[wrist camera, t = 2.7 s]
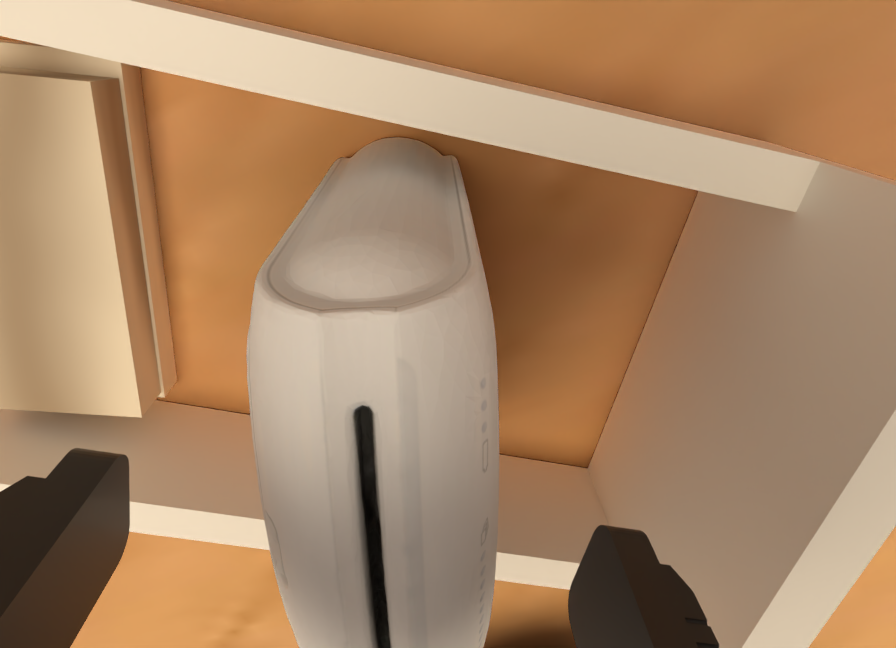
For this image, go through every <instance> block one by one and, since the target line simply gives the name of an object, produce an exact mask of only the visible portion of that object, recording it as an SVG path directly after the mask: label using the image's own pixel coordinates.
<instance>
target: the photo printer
mask: <svg viewBox="0 0 896 648" xmlns="http://www.w3.org/2000/svg"><path fill="white" fill-rule="evenodd" d="M246 357H247V381H248V392H249V404H250V418H251V426H252V439H253V447H254V454H255V462H256V470H257V477H258V485H259V492H260V498H261V503H262V509H263V515H264V521H265V527H266V532H267V537H268V543H269V548H270V554H271V558H272V562H273V566H274V571H275V575H276V579H277V584H278V586H279V591H280V594H281V597H282V601H283V604H284V608H285V611H286V614H287V617H288V620H289V622H290V625H291V627H292V629H293V632H294V635H295V638H296V641H297V643H298V645H299V648H483V647H484V643H485V640H486V636H487V632H488V628H489V622H490V616H491V609H492V601H493V593H494V582H495V571H496V554H497V536H498V508H499V405H498V369H497V349H496V337H495V327H494V320H493V312H492V307H491V302H490V297H489V292H488V287H487V282H486V277H485V272H484V268H483V264H482V259H481V255H480V251H479V246H478V242H477V237H476V233H475V229H474V224H473V220H472V215H471V211H470V206H469V202H468V198H467V194H466V190H465V186H464V182H463V178H462V174H461V171H460V167H459V164H458V160H457V159H456V158H455V157H454V156H453V155H448V156H442V155H441V154H440V153H439V152H438V151H437V150H435V149H434V148H432V147H431V146H429V145H427V144H425V143H423V142H420V141H418V140H414V139H409V138H401V137H393V138H384V139H380V140H377V141H374V142H372V143H370V144H368V145H366V146H364V147H363V148H362V149H360V150H359V151H358V152H357V153H356V154H354V155H353V156H352V157H350V158H344V157H341V158H339V159H337V160H336V161H335V162H334V164H333V165H332V166H331V168H330V169H329V170H328V172H327V174H326V175H325V177H324V178H323V180H322V182H321V183H320V184H319V186H318V187H317V188H316V190H315V191H314V193H313V194H312V196H311V197H310V199H309V200H308V201H307V203H306V204H305V206H304V207H303V209H302V210H301V211H300V213H299V214H298V216H297V217H296V218H295V220H294V221H293V222H292V224H291V225H290V227H289V228H288V229H287V231H286V232H285V233H284V235H283V236H282V238H281V239H280V241H279V242H278V244H277V245H276V247H275V248H274V249H273V251H272V252H271V254H270V255H269V256H268V258H267V259H266V260H265V262H264V263H263V265H262V266H261V268H260V270H259V272H258V274H257V277H256V281H255V287H254V294H253V301H252V308H251V320H250V327H249V331H248V337H247V356H246Z"/></svg>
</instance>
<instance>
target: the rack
mask: <svg viewBox="0 0 896 648" xmlns="http://www.w3.org/2000/svg"><path fill="white" fill-rule="evenodd" d="M0 36H3V37H8V38H12V39H17V40H21V41H26V42H30V43H35V44H39V45H44V46H48V47H53V48H57V49H62V50H66V51H71V52H75V53H80V54H84V55H89V56H93V57H98V58H102V59H107V60H111V61H116V62H120V63H125V64H129V65H134V66H138V67H143V68H147V69H152V70H157V71H161V72H166V73H170V74H175V75H179V76H184V77H188V78H193V79H197V80H202V81H206V82H211V83H215V84H220V85H224V86H229V87H233V88H238V89H242V90H247V91H251V92H256V93H260V94H265V95H269V96H274V97H278V98H283V99H287V100H292V101H296V102H301V103H305V104H310V105H314V106H319V107H323V108H328V109H332V110H337V111H342V112H346V113H351V114H355V115H360V116H364V117H369V118H373V119H378V120H382V121H387V122H391V123H396V124H400V125H405V126H409V127H414V128H418V129H423V130H427V131H432V132H436V133H441V134H445V135H450V136H454V137H459V138H463V139H468V140H472V141H477V142H481V143H486V144H490V145H495V146H499V147H504V148H508V149H513V150H517V151H522V152H526V153H531V154H536V155H540V156H545V157H549V158H554V159H558V160H563V161H567V162H572V163H576V164H581V165H585V166H590V167H594V168H599V169H603V170H608V171H612V172H617V173H621V174H626V175H630V176H635V177H639V178H644V179H648V180H653V181H657V182H662V183H666V184H671V185H675V186H680V187H684V188H689V189H693V190H698V194H697V196H696V199H695V201H694V204H693V206H692V209H691V211H690V214H689V216H688V219H687V221H686V224H685V226H684V229H683V231H682V234H681V236H680V239H679V241H678V244H677V246H676V249H675V251H674V254H673V256H672V259H671V261H670V264H669V266H668V269H667V271H666V274H665V276H664V279H663V281H662V284H661V286H660V289H659V291H658V294H657V296H656V299H655V301H654V304H653V306H652V309H651V311H650V314H649V316H648V319H647V321H646V324H645V326H644V329H643V331H642V334H641V336H640V339H639V341H638V344H637V346H636V349H635V351H634V354H633V356H632V359H631V361H630V364H629V366H628V369H627V371H626V374H625V376H624V379H623V381H622V384H621V386H620V389H619V391H618V394H617V396H616V399H615V401H614V404H613V406H612V409H611V411H610V414H609V416H608V419H607V421H606V424H605V426H604V429H603V431H602V434H601V436H600V439H599V441H598V444H597V446H596V449H595V451H594V454H593V456H592V459H591V461H590V464H589V466H588V468H582V467H576V466H570V465H563V464H557V463H551V462H544V461H538V460H532V459H525V458H519V457H513V456H506V455H500V454H499V508H498V536H497V554H496V571H495V580H500V581H507V582H515V583H523V584H530V585H538V586H545V587H553V588H560V589H568V590H570V587H571V584H572V581H573V579H574V576H575V574H576V572H577V569H578V567H579V565H580V562H581V560H582V558H583V556H584V553H585V551H586V549H587V546H588V544H589V542H590V539H591V537H592V535H593V533H594V531H595V529H596V528H597V527H598V526H599V525H607V526H614V527H621V528H628V529H635V530H641V531H643V532H644V533H645V534H646V535H647V537H648V539H649V541H650V543H651V545H652V547H653V549H654V552H655V554H656V556H657V558H658V560H659V563H660V564H665V565H670V566H671V567H672V568H673V569H674V570H675V571H676V572H677V574H678V575H679V576H680V577H681V578H682V579H683V580H684V582H685V583H686V584H687V585H688V586H689V587H690V588H691V590H692V591H693V592H694V594H695V596H696V598H697V600H698V602H699V604H700V606H701V608H702V610H703V612H704V614H705V616H706V619H707V625H708V626H710V627H711V629H712V631H713V633H714V635H715V637H716V639H717V641H718V643H719V648H808V647H809V646H810V644H811V643H812V642H813V640H814V639H815V637H816V636H817V635H818V633H819V632H820V631H821V629H822V628H823V626H824V625H825V624H826V622H827V621H828V619H829V618H830V617H831V615H832V614H833V612H834V611H835V610H836V608H837V607H838V605H839V604H840V603H841V601H842V600H843V599H844V597H845V596H846V594H847V593H848V592H849V590H850V589H851V587H852V586H853V585H854V583H855V582H856V580H857V579H858V578H859V576H860V575H861V573H862V572H863V571H864V569H865V568H866V567H867V565H868V564H869V562H870V561H871V560H872V558H873V557H874V555H875V554H876V553H877V551H878V550H879V548H880V547H881V546H882V544H883V543H884V541H885V540H886V539H887V537H888V536H889V535H890V533H891V532H892V530H893V529H894V528H895V526H896V181H895V180H892V179H889V178H885V177H882V176H879V175H875V174H872V173H869V172H866V171H862V170H859V169H856V168H852V167H849V166H846V165H842V164H839V163H836V162H833V161H829V160H826V159H823V158H819V157H816V156H813V155H809V154H806V153H803V152H799V151H796V150H793V149H790V148H786V147H783V146H780V145H776V144H773V143H770V142H766V141H762V140H758V139H754V138H749V137H745V136H741V135H737V134H732V133H728V132H724V131H720V130H715V129H711V128H707V127H703V126H698V125H694V124H690V123H686V122H681V121H677V120H673V119H669V118H664V117H660V116H656V115H652V114H647V113H643V112H639V111H635V110H630V109H626V108H622V107H618V106H613V105H609V104H605V103H601V102H597V101H592V100H588V99H584V98H580V97H575V96H571V95H567V94H563V93H558V92H554V91H550V90H546V89H541V88H537V87H533V86H529V85H524V84H520V83H516V82H512V81H507V80H503V79H499V78H495V77H490V76H486V75H482V74H478V73H473V72H469V71H465V70H461V69H456V68H452V67H448V66H444V65H439V64H435V63H431V62H427V61H423V60H418V59H414V58H410V57H406V56H401V55H397V54H393V53H389V52H384V51H380V50H376V49H372V48H367V47H363V46H359V45H355V44H350V43H346V42H342V41H338V40H333V39H329V38H325V37H321V36H316V35H312V34H308V33H304V32H299V31H295V30H291V29H287V28H282V27H278V26H274V25H270V24H265V23H261V22H257V21H253V20H249V19H244V18H240V17H236V16H232V15H227V14H223V13H219V12H215V11H210V10H206V9H202V8H198V7H193V6H189V5H185V4H181V3H176V2H172V1H168V0H0ZM74 448H82V449H89V450H96V451H103V452H110V453H117V454H124V455H126V456H127V457H128V460H129V490H130V528H129V532H137V533H144V534H152V535H159V536H167V537H175V538H182V539H190V540H197V541H205V542H212V543H220V544H227V545H235V546H243V547H250V548H258V549H265V550H270V548H269V543H268V537H267V532H266V527H265V521H264V515H263V509H262V503H261V498H260V492H259V485H258V477H257V470H256V462H255V454H254V447H253V439H252V426H251V418H250V415H247V414H241V413H235V412H228V411H222V410H216V409H209V408H203V407H197V406H190V405H184V404H178V403H171V402H165V401H159V400H155V401H154V402H153V404H152V405H151V406H150V408H149V409H148V410H147V412H146V413H145V414H144V416H143V417H142V418H140V417H124V416H107V415H91V414H75V413H59V412H43V411H27V410H11V409H0V492H1V491H2V490H4V489H6V488H7V487H9V486H11V485H13V484H14V483H16V482H18V481H19V480H21V479H23V478H24V477H26V476H33V477H40V478H46V477H47V476H48V475H49V474H50V473H51V471H52V470H53V469H54V468H55V467H56V466H57V464H58V463H59V462H60V461H61V460H62V459H63V457H64V456H65V455H66V454H67V453H68V452H69V451H71V450H72V449H74Z"/></svg>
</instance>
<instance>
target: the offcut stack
mask: <svg viewBox="0 0 896 648" xmlns="http://www.w3.org/2000/svg"><path fill="white" fill-rule="evenodd" d="M176 382H177V374H176V366H175V357H174V349H173V340H172V332H171V324H170V315H169V307H168V299H167V290H166V282H165V273H164V265H163V257H162V248H161V240H160V231H159V223H158V215H157V206H156V198H155V190H154V181H153V173H152V164H151V156H150V148H149V139H148V131H147V122H146V114H145V106H144V97H143V89H142V81H141V72H140V67H138V66H134V65H129V64H125V63H120V62H116V61H111V60H107V59H102V58H98V57H93V56H89V55H84V54H80V53H75V52H71V51H66V50H62V49H57V48H53V47H48V46H44V45H39V44H35V43H30V42H21V41H11V40H2V39H0V409H11V410H27V411H43V412H59V413H75V414H91V415H107V416H124V417H140V418H142V417H143V416H144V414H145V413H146V412H147V410H148V409H149V408H150V406H151V405H152V404H153V402H154V401H155V400H156V398H157V397H166V395H167V394H168V392H169V391H170V390H171V388H172V387H173V386H174V384H175V383H176Z"/></svg>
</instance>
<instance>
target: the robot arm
mask: <svg viewBox="0 0 896 648" xmlns="http://www.w3.org/2000/svg"><path fill="white" fill-rule="evenodd" d="M129 528H130V490H129V460H128V457H127V456H126V455H124V454H117V453H110V452H103V451H96V450H89V449H82V448H74V449H72V450H71V451H69V452H68V453H67V454H66V455H65V456H64V457H63V459H62V460H61V461H60V462H59V463H58V464H57V466H56V467H55V468H54V469H53V470H52V471H51V473H50V474H49V475H48V476H47V477H46V478H40V477H33V476H26V477H24V478H23V479H21V480H19V481H18V482H16V483H14V484H13V485H11V486H9V487H7V488H6V489H4V490H2V491H1V492H0V648H70V647H71V645H72V643H73V641H74V640H75V638H76V636H77V634H78V633H79V631H80V629H81V628H82V626H83V624H84V622H85V621H86V619H87V617H88V615H89V614H90V612H91V610H92V609H93V607H94V605H95V603H96V602H97V600H98V598H99V596H100V595H101V593H102V591H103V590H104V588H105V586H106V584H107V583H108V581H109V579H110V578H111V576H112V574H113V572H114V571H115V569H116V567H117V565H118V563H119V561H120V559H121V557H122V554H123V552H124V549H125V546H126V543H127V539H128V534H129ZM568 612H569V620H570V624H571V628H572V632H573V636H574V640H575V644H576V648H719V643H718V641H717V639H716V637H715V635H714V633H713V631H712V629H711V627H710V626H708V625H707V619H706V616H705V614H704V612H703V610H702V608H701V606H700V604H699V602H698V600H697V598H696V596H695V594H694V592H693V591H692V590H691V588H690V587H689V586H688V585H687V584H686V583H685V582H684V580H683V579H682V578H681V577H680V576H679V575H678V574H677V572H676V571H675V570H674V569H673V568H672V567H671V566H670V565H665V564H660V563H659V560H658V558H657V556H656V554H655V552H654V549H653V547H652V545H651V543H650V541H649V539H648V537H647V535H646V534H645V533H644V532H643V531H641V530H635V529H628V528H621V527H614V526H607V525H599V526H598V527H597V528H596V529H595V531H594V533H593V535H592V537H591V539H590V542H589V544H588V546H587V549H586V551H585V553H584V556H583V558H582V560H581V562H580V565H579V567H578V569H577V572H576V574H575V576H574V579H573V581H572V584H571V587H570V591H569V599H568Z"/></svg>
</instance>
